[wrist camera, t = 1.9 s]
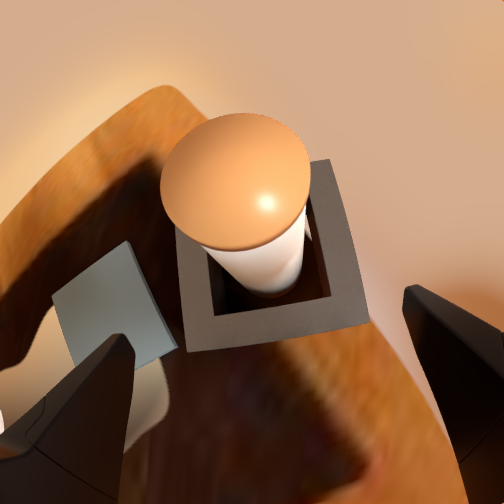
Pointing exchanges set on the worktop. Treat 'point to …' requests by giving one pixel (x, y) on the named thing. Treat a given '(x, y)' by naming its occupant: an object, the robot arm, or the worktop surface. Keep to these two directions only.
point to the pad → (112, 309)
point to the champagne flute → (1, 423)
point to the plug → (242, 198)
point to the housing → (286, 316)
